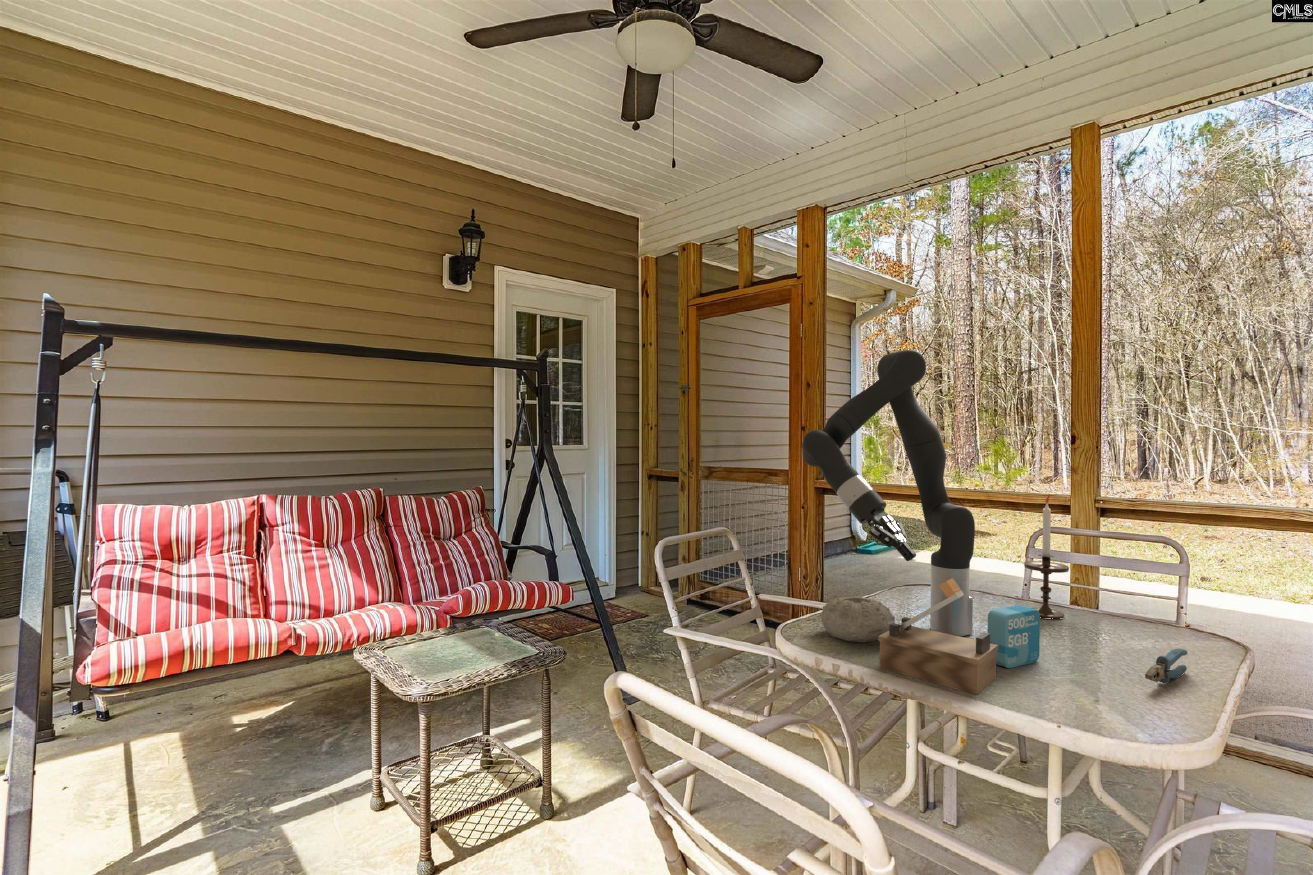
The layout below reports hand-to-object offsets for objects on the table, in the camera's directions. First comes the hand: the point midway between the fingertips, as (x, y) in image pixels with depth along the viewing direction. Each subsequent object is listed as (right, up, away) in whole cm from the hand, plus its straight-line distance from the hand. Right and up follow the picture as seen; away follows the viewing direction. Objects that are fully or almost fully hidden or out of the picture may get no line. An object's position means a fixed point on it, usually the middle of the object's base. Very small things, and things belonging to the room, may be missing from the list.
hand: (912, 558), depth 140 cm
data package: (+24, -24, +3) cm, 34 cm away
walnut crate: (+4, -24, -4) cm, 25 cm away
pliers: (+50, -25, -8) cm, 56 cm away
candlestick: (+55, -24, +41) cm, 72 cm away
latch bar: (+3, -12, -3) cm, 12 cm away
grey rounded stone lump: (-6, -24, +20) cm, 31 cm away
